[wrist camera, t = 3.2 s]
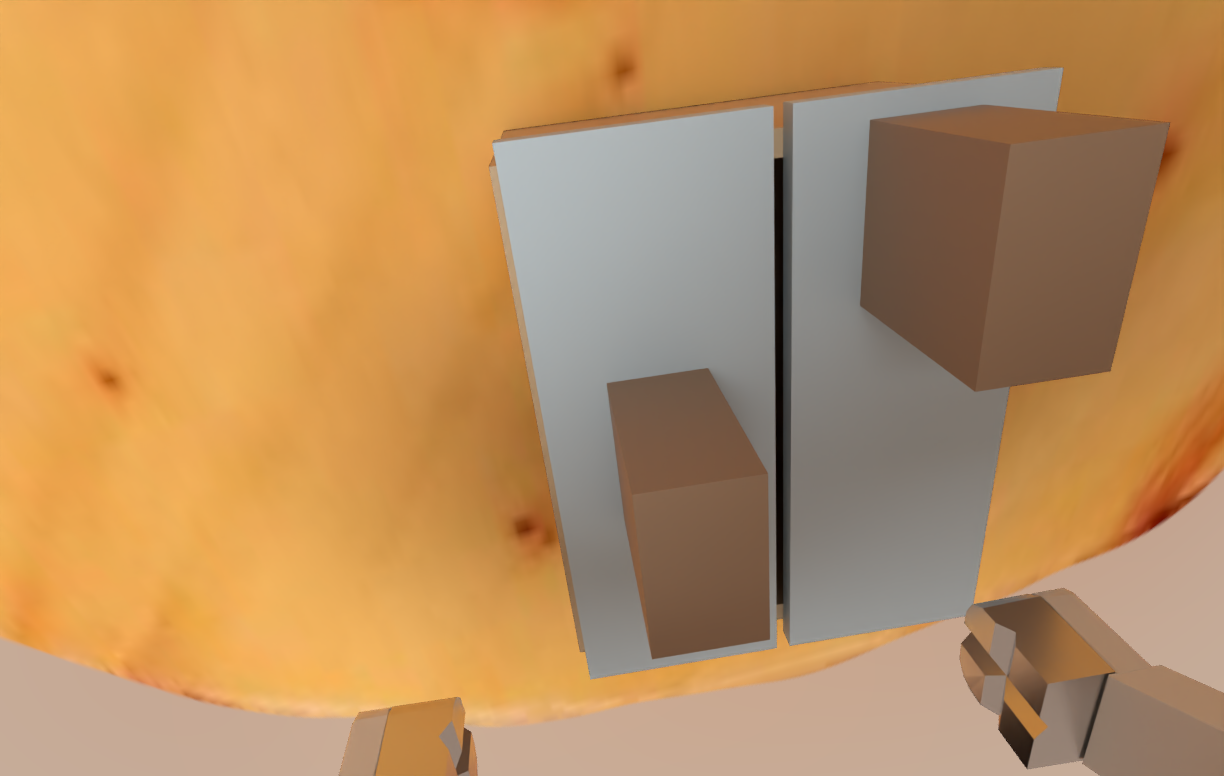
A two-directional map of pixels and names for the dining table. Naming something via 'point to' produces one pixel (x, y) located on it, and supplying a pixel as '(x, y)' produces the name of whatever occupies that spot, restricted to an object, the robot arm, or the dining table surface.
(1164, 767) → the robot arm
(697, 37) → the dining table surface
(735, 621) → the lid
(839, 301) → the lid
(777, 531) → the open cardboard box
